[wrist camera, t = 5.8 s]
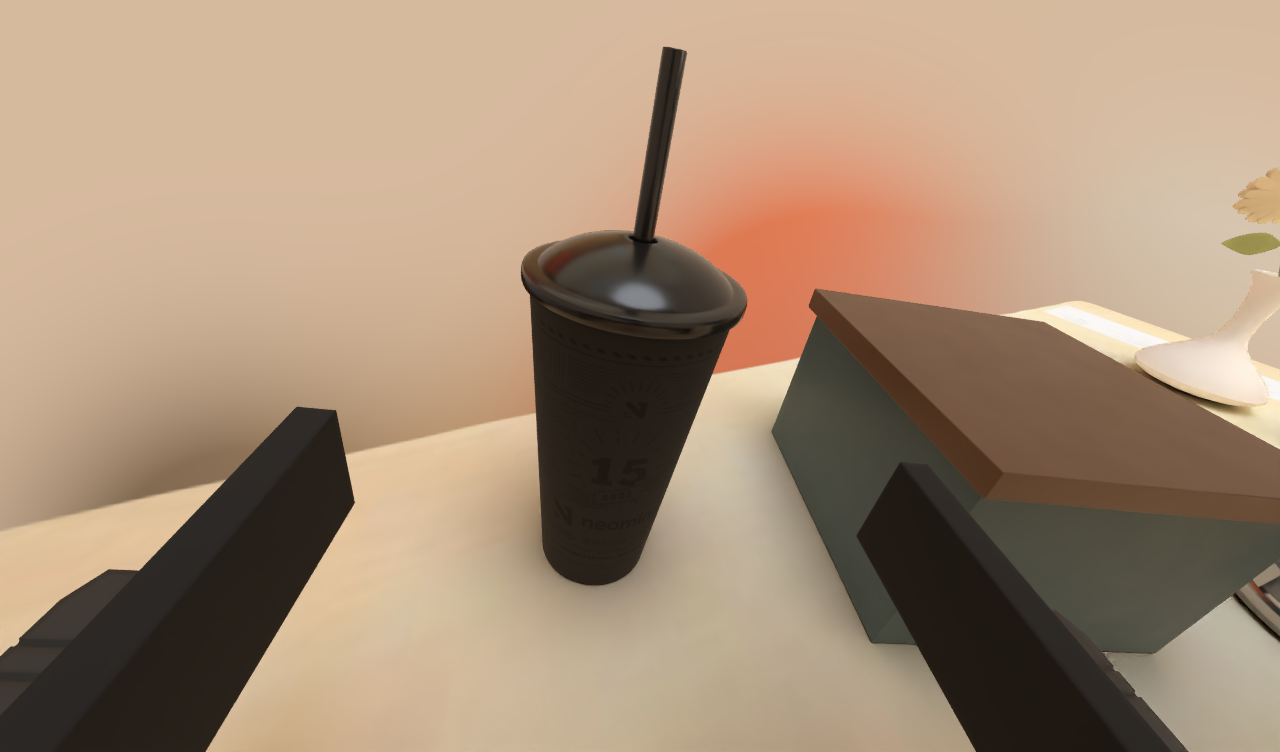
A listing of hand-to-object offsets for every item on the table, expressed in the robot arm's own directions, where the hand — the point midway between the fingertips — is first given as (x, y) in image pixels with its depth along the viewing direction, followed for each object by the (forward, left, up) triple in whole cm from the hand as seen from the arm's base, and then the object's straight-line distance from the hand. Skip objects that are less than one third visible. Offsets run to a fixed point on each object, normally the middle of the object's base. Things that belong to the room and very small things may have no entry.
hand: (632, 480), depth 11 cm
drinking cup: (0, -7, -11) cm, 13 cm away
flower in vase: (-69, -35, -11) cm, 78 cm away
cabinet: (-20, -10, -11) cm, 25 cm away
